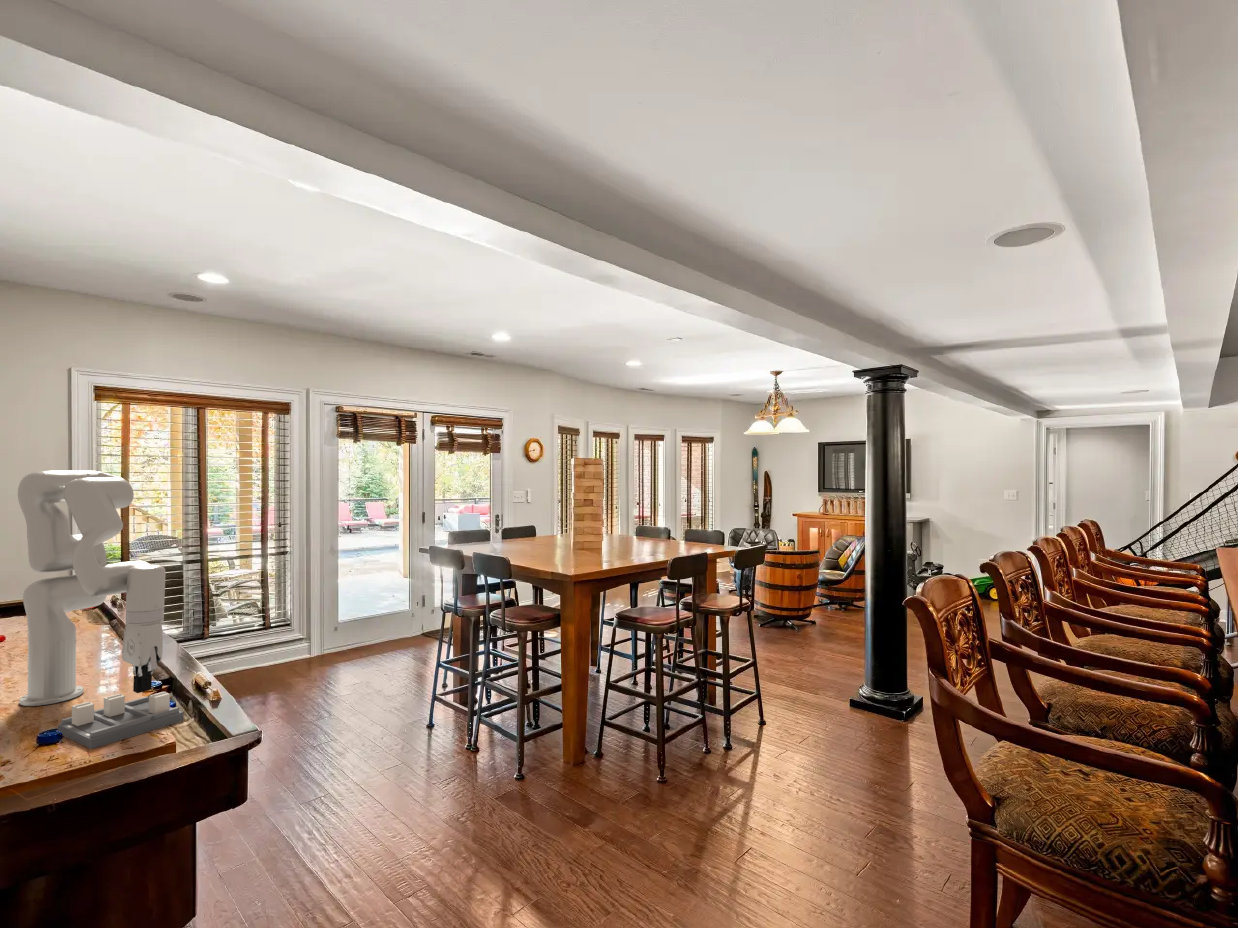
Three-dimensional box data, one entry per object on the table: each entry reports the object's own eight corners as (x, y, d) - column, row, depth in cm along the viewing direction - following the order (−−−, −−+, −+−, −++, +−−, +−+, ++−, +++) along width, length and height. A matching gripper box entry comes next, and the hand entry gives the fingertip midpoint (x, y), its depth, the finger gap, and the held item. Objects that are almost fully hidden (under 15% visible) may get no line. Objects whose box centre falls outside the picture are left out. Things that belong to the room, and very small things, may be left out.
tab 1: (71, 723, 143) (71, 704, 143) (87, 718, 146) (88, 700, 146) (77, 726, 142) (77, 706, 142) (93, 721, 145) (93, 702, 145)
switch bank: (57, 732, 144) (57, 719, 144) (148, 707, 159) (148, 695, 159) (91, 749, 135) (91, 734, 135) (183, 720, 151) (183, 707, 151)
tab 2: (103, 714, 149) (103, 696, 149) (118, 710, 151) (118, 692, 151) (109, 717, 147) (109, 698, 147) (124, 712, 150) (124, 694, 150)
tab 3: (148, 712, 150) (149, 694, 150) (163, 708, 153) (163, 690, 153) (155, 714, 148) (155, 696, 149) (169, 710, 151) (169, 692, 151)
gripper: (112, 614, 155) (109, 688, 155) (142, 624, 147) (139, 702, 147) (147, 608, 161) (144, 680, 161) (177, 617, 154) (175, 692, 154)
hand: (142, 690), depth 154 cm, fingers closed
